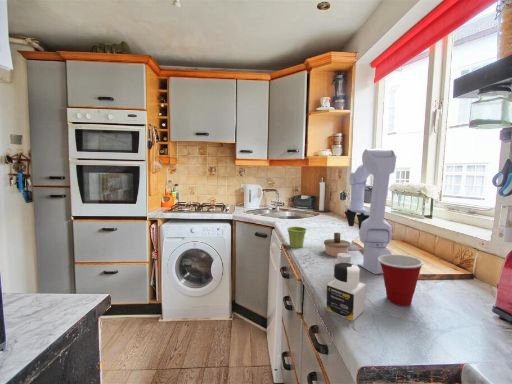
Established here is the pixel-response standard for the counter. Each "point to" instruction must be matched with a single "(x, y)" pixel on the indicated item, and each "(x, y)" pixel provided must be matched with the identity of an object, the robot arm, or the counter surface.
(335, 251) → the bowl
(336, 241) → the lid
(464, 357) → the counter surface
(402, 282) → the plastic cup
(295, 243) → the plant pot
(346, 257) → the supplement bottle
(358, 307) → the medicine bottle
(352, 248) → the mat
